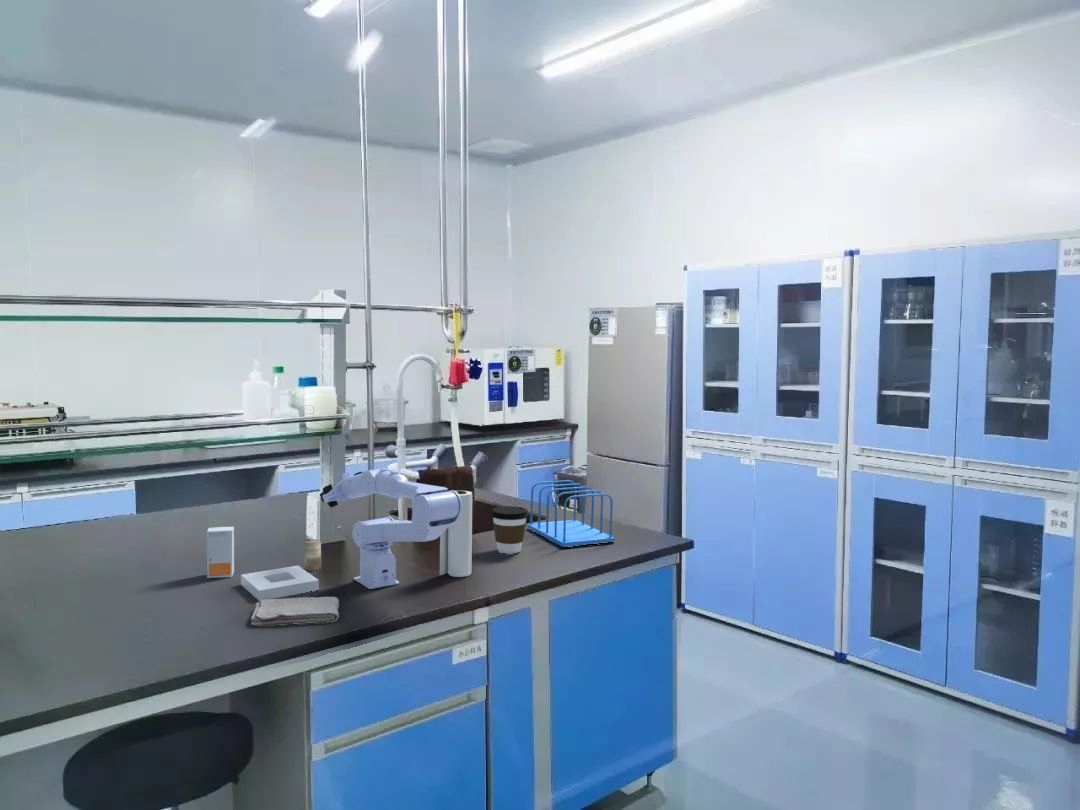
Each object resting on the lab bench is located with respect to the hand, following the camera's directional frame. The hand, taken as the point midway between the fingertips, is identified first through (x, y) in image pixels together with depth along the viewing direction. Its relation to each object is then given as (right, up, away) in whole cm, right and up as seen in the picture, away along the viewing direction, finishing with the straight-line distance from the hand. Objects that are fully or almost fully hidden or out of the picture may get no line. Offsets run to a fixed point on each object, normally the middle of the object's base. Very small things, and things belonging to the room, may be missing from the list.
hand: (334, 492), depth 209 cm
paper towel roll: (+33, -20, -6) cm, 39 cm away
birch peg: (-4, -19, -4) cm, 20 cm away
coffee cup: (+46, -19, +16) cm, 52 cm away
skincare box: (-25, -20, -11) cm, 34 cm away
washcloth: (+1, -23, -37) cm, 44 cm away
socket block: (-8, -21, -19) cm, 30 cm away
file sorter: (+63, -18, +34) cm, 74 cm away
